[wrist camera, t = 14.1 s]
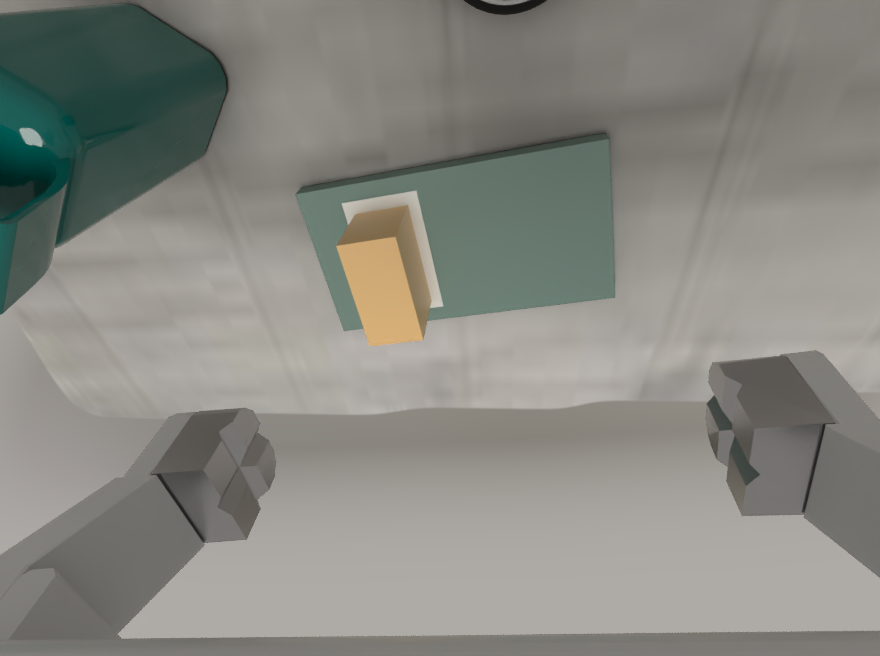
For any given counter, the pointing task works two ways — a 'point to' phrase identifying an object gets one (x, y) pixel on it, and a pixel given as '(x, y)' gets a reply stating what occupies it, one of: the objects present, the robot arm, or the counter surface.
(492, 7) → the beverage can
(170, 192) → the counter surface
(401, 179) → the board
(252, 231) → the counter surface
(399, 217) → the block
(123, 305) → the counter surface
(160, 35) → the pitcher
